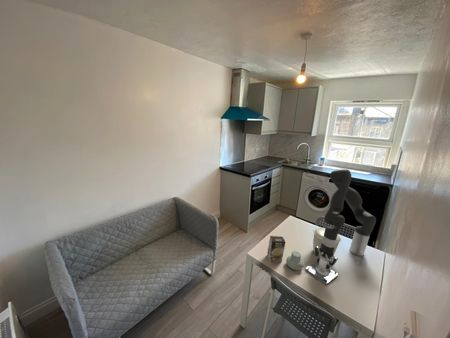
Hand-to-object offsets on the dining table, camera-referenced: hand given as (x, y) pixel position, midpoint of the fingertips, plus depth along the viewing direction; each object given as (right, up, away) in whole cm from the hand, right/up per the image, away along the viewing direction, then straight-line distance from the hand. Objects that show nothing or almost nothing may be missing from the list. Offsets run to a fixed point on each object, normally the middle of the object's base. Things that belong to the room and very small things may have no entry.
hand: (322, 265), depth 123 cm
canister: (+10, -1, +20) cm, 22 cm away
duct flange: (0, -5, +1) cm, 6 cm away
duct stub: (0, -2, +1) cm, 2 cm away
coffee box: (-28, -1, +12) cm, 31 cm away
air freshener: (-17, -3, +5) cm, 18 cm away
